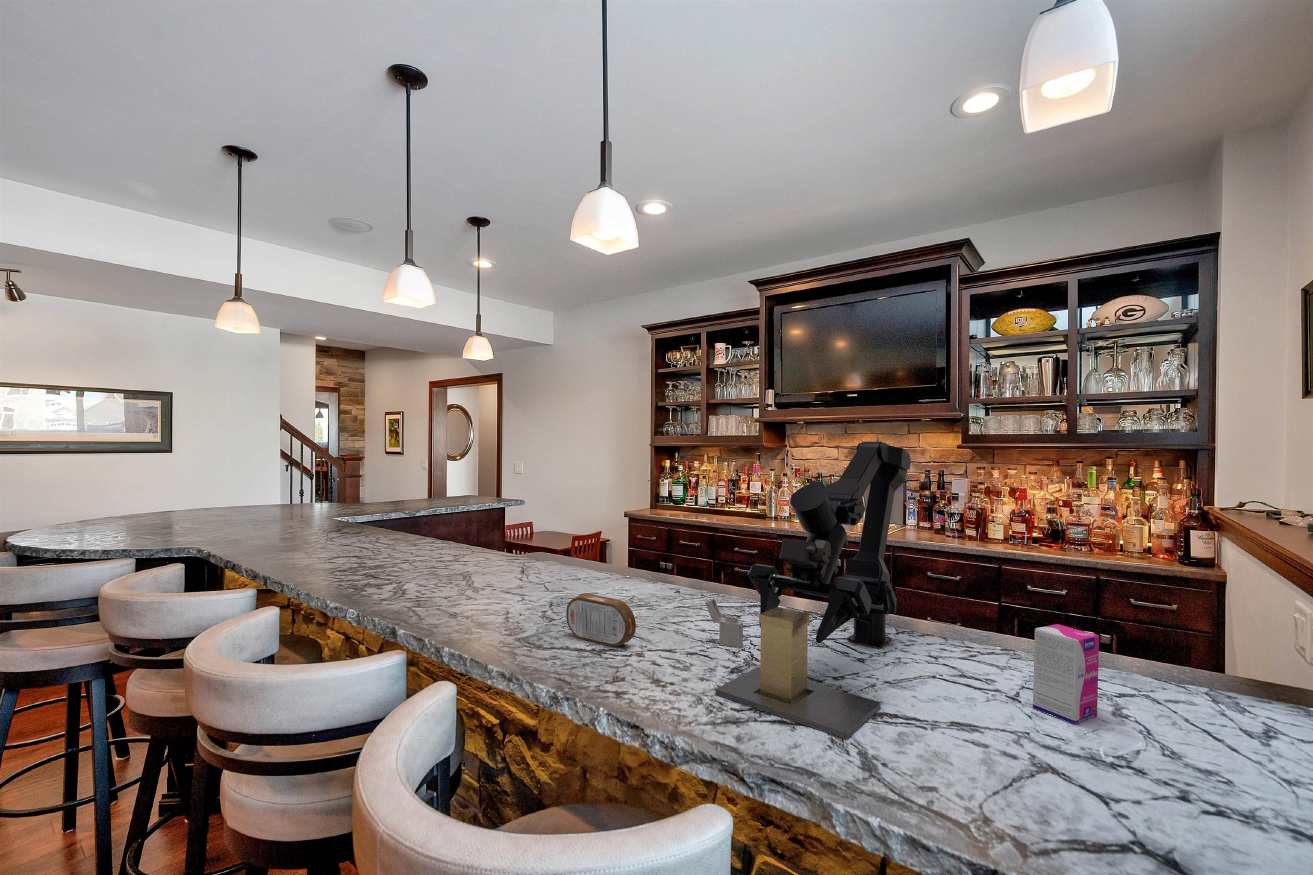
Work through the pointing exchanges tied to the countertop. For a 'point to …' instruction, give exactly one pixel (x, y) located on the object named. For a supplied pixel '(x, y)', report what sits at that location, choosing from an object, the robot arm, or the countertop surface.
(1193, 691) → the countertop surface
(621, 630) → the tin
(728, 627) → the lighter
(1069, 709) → the supplement box
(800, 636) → the tan square peg
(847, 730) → the grey plate with hole
